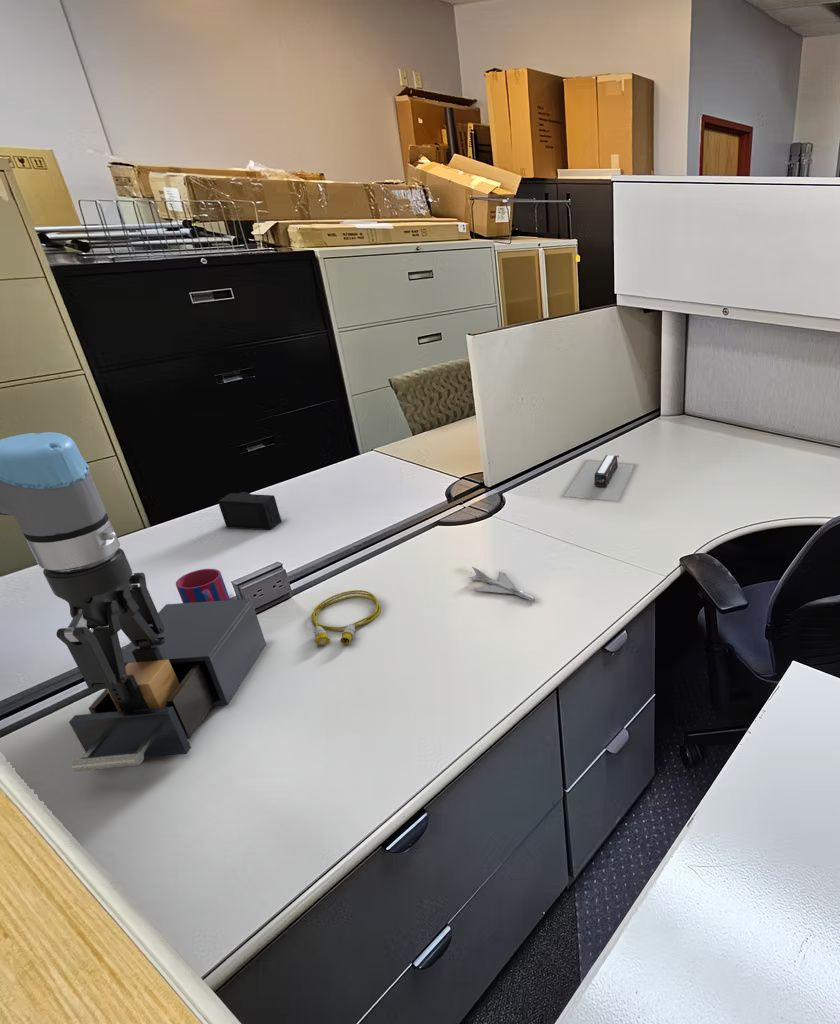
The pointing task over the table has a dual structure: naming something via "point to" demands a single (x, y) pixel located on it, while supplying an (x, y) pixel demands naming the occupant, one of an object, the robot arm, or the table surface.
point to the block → (153, 681)
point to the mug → (202, 586)
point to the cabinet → (211, 640)
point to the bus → (601, 480)
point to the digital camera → (249, 511)
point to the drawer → (145, 723)
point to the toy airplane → (499, 585)
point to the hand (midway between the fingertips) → (149, 698)
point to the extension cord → (348, 630)
